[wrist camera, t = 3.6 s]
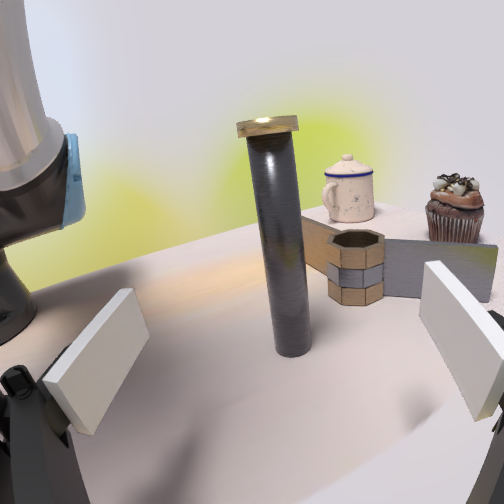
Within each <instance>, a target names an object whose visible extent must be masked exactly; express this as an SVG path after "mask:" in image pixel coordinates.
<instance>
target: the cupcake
mask: <svg viewBox="0 0 504 504" xmlns="http://www.w3.org/2000/svg"><path fill="white" fill-rule="evenodd" d="M448 177H450V178H448ZM433 186H434V187H435V190H433V191H432V192H431V200H430V201H429V202H428V204H427V205H426V206H425V210H426V215H427V220H428V227H429V236H430V240H431V241H437V242H455V243H471V244H476V243H477V239H478V236H479V232H480V228H481V224H482V221H483V217H484V209H483V206H484V203H483V199H482V197H481V195H480V192H479V182H478V181H477V180H474V178H466V177H464V178H460V175H459V174H457V173H455V174H452V175H451V176H447V175H445V174H442V175H441V176H438V177H437V180H435V181H434V182H433Z"/></svg>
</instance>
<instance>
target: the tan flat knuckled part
mask: <svg viewBox="0 0 504 504" xmlns="http://www.w3.org/2000/svg"><path fill="white" fill-rule="evenodd" d="M301 219H302V229H303V240H304V251H305V263H307V264H309V265H310V266H312V267H314V268H315V269H317V270H319V271H320V272H322V273H323V274H325V275H327V261H328V262H330V263H332V264H334V265H336V266H337V267H339V268H342V269H368V268H370V267H373V266H376V265H378V264H381V263H383V262H384V235H383V234H380V233H377V232H374V231H372V230H353V229H348V230H344V231H340V230H338V229H335V228H332V227H330V226H327V225H325V224H322V223H319V222H317V221H314V220H312V219H309V218H306V217H304V216H301ZM328 295H329V296H330V297H331V298H333V299H334V300H336V301H337V302H339V303H340V304H342V305H358V306H366V305H368V304H370V303H372V302H375V301H377V300H379V299H381V298H382V297H383V280H382V282H380V283H377V284H374V285H371V286H369V287H366V288H351V287H340V286H338V285H337V284H335V283H334V282H333V281H331V280H330V279H329V278H328Z"/></svg>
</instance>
